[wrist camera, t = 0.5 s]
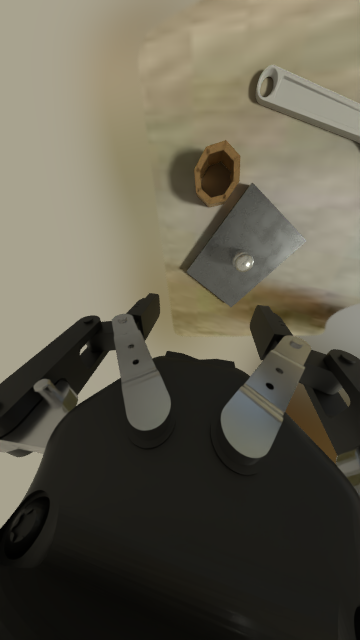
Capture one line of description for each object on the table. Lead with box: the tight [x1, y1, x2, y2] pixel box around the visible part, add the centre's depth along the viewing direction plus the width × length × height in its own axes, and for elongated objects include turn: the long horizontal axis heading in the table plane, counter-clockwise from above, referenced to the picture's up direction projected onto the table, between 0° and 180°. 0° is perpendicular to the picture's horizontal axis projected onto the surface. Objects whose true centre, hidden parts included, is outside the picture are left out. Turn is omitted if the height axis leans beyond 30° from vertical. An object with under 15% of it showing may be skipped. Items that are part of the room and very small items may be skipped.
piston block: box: [187, 183, 306, 307], centre depth 28 cm, size 18×14×8 cm
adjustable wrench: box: [255, 65, 360, 143], centre depth 19 cm, size 25×6×2 cm, turn 68°
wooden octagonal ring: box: [194, 140, 240, 207], centre depth 23 cm, size 6×6×5 cm
